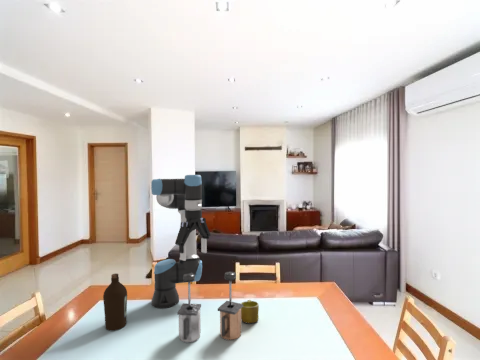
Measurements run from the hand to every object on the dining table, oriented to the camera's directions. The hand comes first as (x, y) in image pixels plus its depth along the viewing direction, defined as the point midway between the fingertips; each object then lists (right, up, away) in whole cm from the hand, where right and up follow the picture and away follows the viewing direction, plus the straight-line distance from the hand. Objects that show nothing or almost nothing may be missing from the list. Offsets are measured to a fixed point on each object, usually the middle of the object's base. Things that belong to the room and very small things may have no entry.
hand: (194, 256), depth 130 cm
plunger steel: (-2, -27, 0) cm, 27 cm away
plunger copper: (+17, -26, +1) cm, 31 cm away
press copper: (+16, -36, 0) cm, 39 cm away
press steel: (-2, -36, -1) cm, 36 cm away
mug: (+26, -36, +16) cm, 47 cm away
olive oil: (-39, -36, +10) cm, 54 cm away
